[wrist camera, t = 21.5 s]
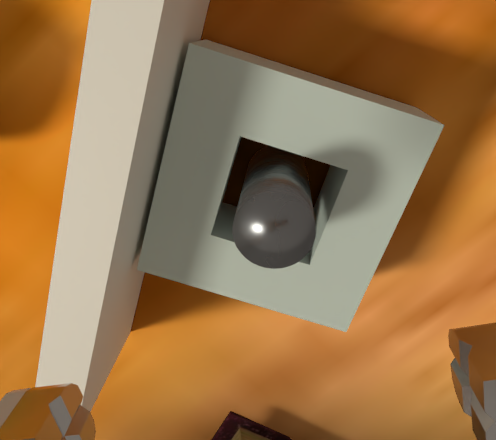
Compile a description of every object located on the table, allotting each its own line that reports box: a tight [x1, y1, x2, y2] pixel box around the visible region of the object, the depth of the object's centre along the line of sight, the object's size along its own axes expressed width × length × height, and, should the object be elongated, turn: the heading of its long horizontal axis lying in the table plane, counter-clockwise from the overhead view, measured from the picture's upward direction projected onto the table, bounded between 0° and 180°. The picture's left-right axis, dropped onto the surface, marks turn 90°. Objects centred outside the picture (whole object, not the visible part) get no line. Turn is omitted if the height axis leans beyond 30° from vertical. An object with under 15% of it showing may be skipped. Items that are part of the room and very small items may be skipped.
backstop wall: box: [36, 0, 210, 411], centre depth 19 cm, size 24×2×8 cm, turn 163°
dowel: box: [232, 145, 316, 269], centre depth 20 cm, size 3×3×7 cm
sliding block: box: [137, 39, 444, 332], centre depth 21 cm, size 10×10×4 cm
